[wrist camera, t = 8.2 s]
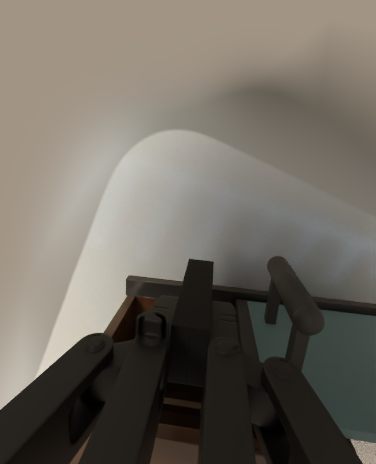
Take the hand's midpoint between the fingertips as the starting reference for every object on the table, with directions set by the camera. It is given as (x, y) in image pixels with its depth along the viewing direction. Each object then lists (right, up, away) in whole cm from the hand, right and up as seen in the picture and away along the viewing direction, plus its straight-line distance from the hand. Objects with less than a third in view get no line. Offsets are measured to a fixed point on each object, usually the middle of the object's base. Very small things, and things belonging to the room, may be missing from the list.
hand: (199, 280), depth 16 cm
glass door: (+11, -2, +7) cm, 13 cm away
